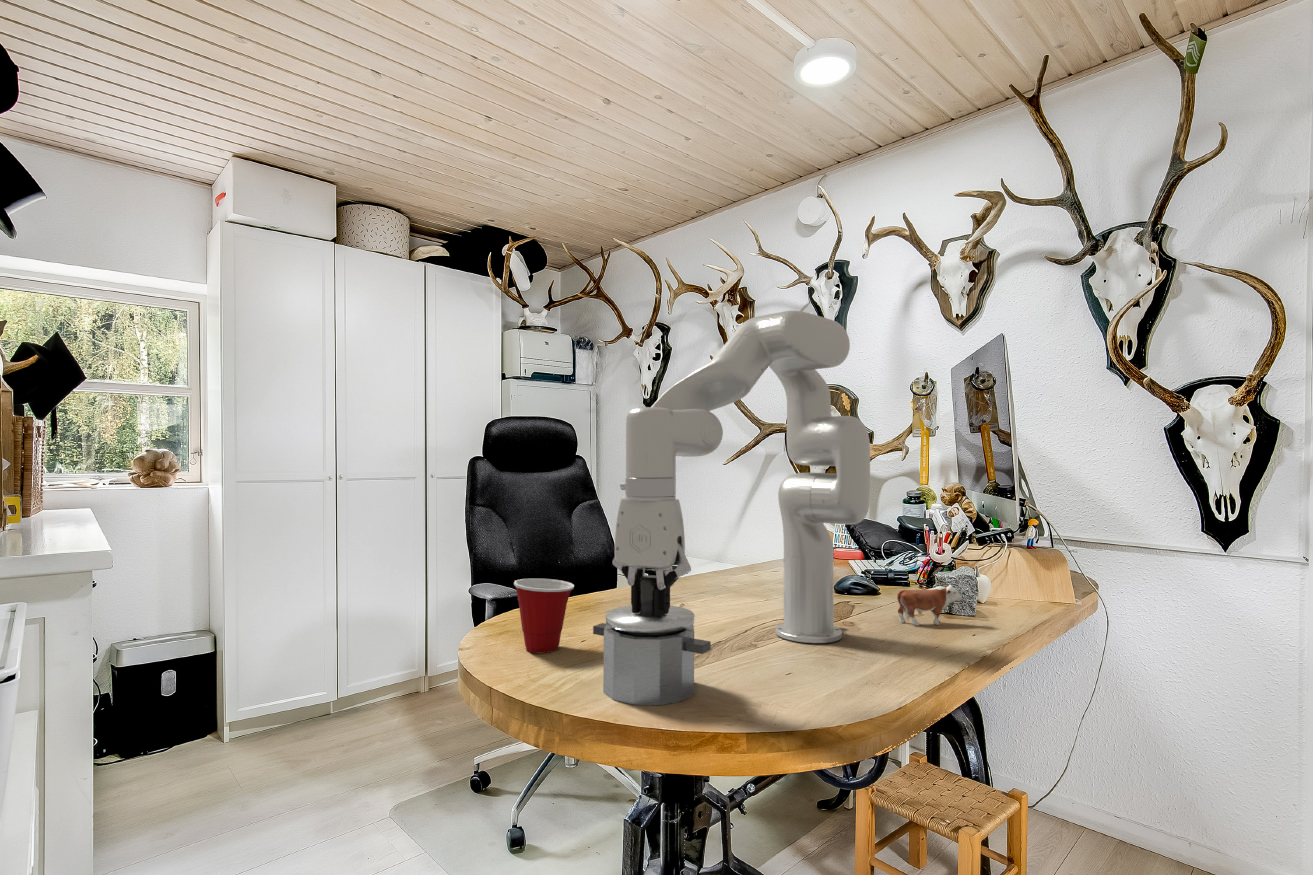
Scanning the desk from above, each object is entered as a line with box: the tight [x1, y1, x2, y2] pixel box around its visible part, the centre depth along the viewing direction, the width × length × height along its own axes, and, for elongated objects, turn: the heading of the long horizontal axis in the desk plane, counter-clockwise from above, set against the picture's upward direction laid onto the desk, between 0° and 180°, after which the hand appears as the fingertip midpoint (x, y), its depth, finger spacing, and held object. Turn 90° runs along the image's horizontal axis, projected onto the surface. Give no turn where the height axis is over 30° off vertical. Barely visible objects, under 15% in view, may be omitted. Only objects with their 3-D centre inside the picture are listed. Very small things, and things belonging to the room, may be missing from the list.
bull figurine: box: [896, 584, 963, 627], centre depth 137 cm, size 4×13×8 cm, turn 91°
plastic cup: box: [513, 578, 575, 654], centre depth 117 cm, size 11×11×12 cm
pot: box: [592, 622, 712, 706], centre depth 97 cm, size 13×19×9 cm
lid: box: [605, 574, 695, 636], centre depth 97 cm, size 13×13×8 cm
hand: (650, 611), depth 97 cm, fingers closed on lid, 3 cm apart
